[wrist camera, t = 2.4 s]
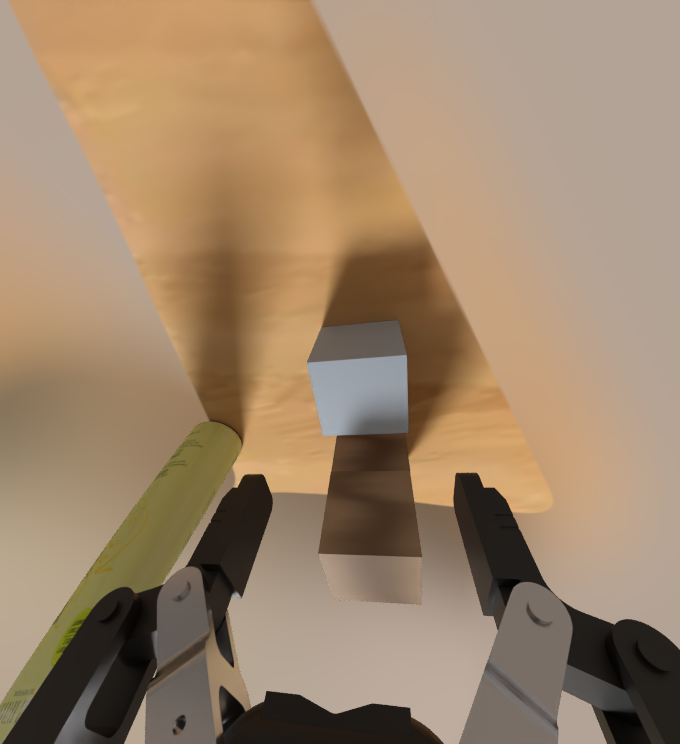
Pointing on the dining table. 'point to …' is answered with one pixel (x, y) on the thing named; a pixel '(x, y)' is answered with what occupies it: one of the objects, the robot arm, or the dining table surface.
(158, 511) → the tube
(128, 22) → the dining table surface
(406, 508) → the tower upper
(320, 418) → the slate block
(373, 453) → the tower lower
